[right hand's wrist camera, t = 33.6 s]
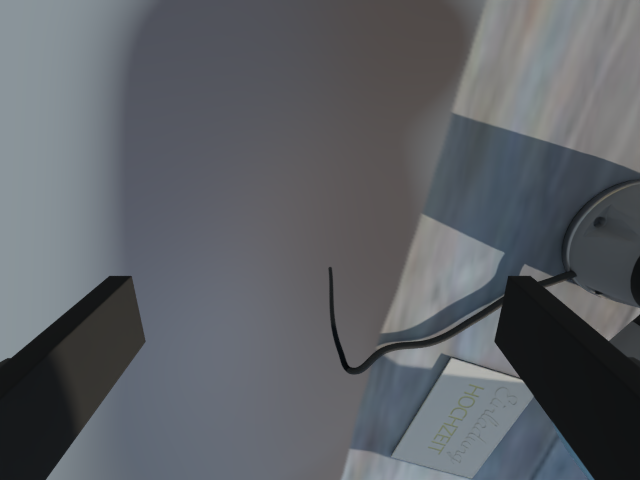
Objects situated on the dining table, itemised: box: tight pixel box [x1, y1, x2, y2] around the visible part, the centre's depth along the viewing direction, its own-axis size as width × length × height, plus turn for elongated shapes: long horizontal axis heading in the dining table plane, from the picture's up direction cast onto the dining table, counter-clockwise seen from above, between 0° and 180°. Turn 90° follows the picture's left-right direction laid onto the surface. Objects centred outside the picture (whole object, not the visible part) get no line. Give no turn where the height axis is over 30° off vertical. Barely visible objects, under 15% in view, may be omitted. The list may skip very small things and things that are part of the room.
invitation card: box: [391, 357, 534, 479], centre depth 56 cm, size 21×1×15 cm
